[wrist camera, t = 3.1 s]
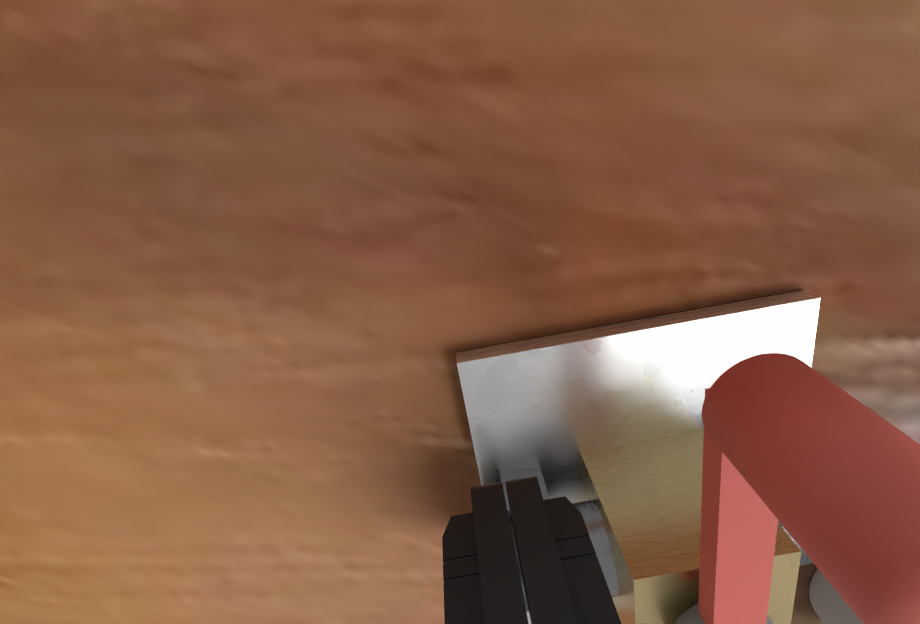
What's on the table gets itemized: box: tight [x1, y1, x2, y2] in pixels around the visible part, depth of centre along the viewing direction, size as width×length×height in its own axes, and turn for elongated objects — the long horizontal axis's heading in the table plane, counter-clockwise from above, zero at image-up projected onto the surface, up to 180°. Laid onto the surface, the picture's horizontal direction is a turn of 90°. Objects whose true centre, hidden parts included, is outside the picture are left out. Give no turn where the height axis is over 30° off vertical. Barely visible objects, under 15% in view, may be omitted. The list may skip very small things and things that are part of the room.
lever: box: [675, 353, 920, 624], centre depth 13 cm, size 14×4×7 cm, turn 10°
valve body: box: [456, 290, 820, 624], centre depth 22 cm, size 16×18×8 cm
